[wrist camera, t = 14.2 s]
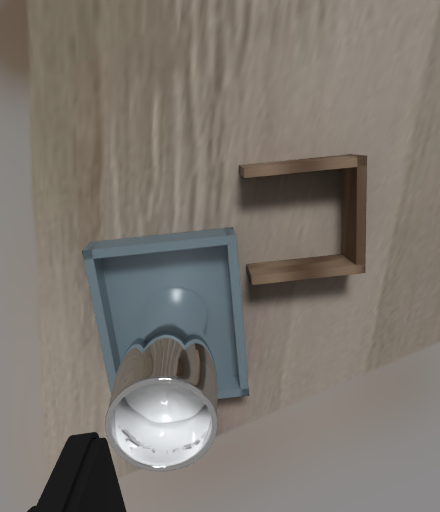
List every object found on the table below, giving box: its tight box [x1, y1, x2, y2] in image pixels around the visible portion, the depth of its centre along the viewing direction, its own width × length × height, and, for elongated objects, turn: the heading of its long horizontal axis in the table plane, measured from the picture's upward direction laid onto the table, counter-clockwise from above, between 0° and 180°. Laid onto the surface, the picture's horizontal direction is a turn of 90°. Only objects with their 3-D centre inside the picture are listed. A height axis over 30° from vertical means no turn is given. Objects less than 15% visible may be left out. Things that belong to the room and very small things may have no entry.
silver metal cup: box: [105, 287, 218, 471], centre depth 30 cm, size 7×7×15 cm
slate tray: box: [82, 227, 249, 399], centre depth 36 cm, size 13×16×3 cm
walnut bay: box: [239, 154, 367, 285], centre depth 34 cm, size 10×10×4 cm
